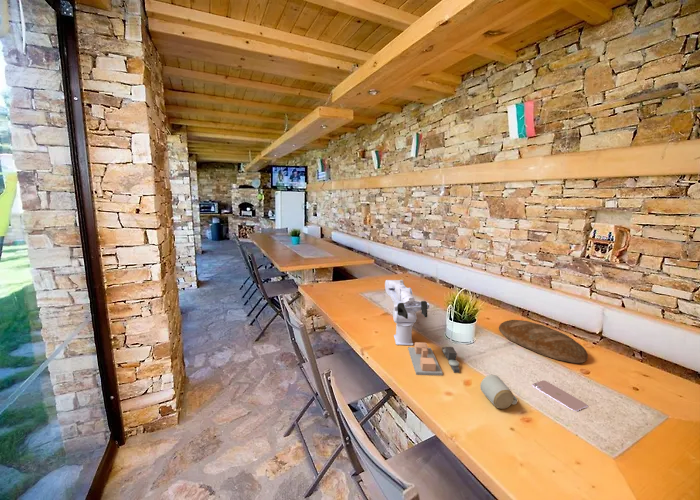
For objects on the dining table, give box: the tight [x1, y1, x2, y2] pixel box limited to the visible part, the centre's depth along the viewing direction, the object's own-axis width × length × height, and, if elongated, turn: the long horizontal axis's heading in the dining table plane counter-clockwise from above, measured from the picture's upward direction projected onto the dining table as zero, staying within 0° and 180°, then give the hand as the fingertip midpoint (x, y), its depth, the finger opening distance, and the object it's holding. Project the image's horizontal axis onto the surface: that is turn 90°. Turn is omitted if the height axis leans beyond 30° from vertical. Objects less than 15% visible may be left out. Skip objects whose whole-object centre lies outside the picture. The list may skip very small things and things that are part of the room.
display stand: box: [407, 341, 444, 376], centre depth 121 cm, size 19×10×5 cm, turn 178°
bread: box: [498, 319, 589, 364], centre depth 137 cm, size 22×37×8 cm, turn 29°
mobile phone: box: [531, 380, 588, 412], centre depth 102 cm, size 8×1×15 cm
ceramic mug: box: [480, 374, 519, 410], centre depth 98 cm, size 11×8×8 cm
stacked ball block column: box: [441, 346, 461, 374], centre depth 122 cm, size 17×4×5 cm, turn 178°
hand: (416, 315), depth 116 cm, fingers open, 7 cm apart
